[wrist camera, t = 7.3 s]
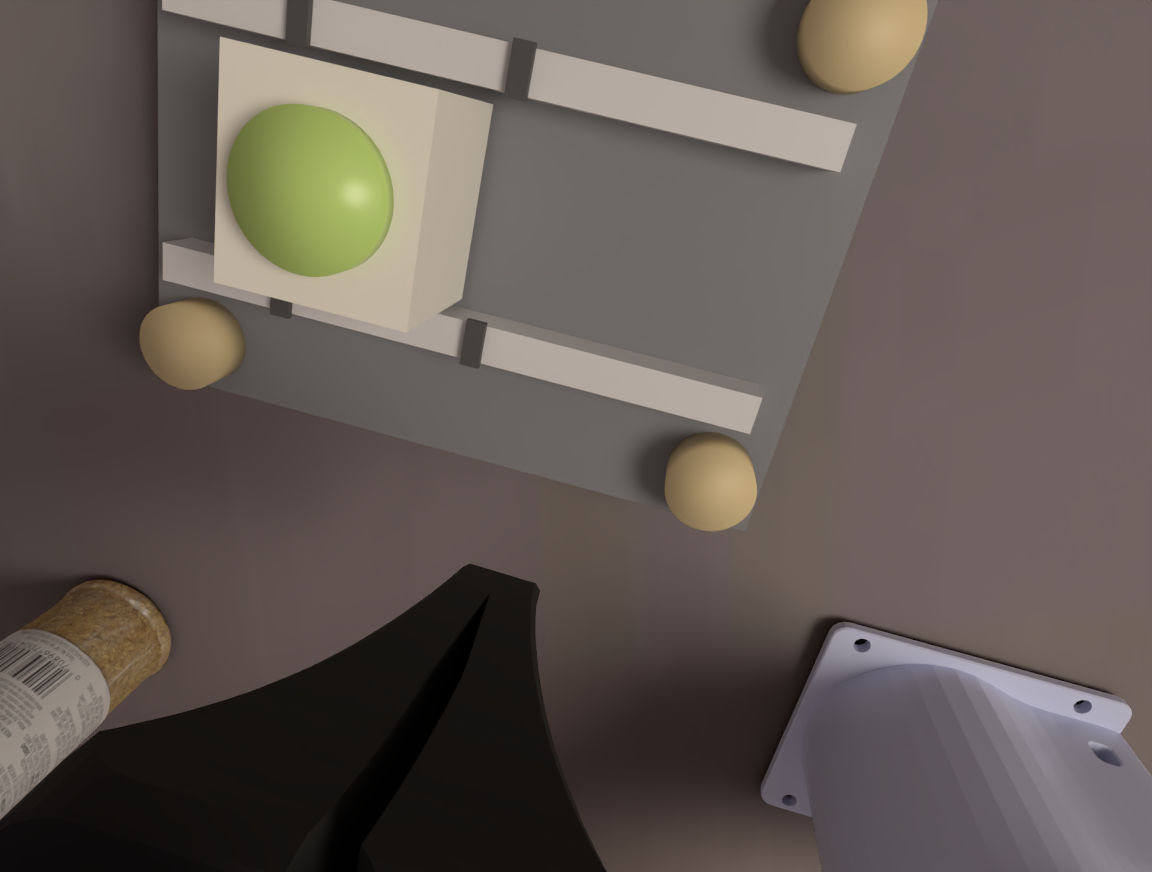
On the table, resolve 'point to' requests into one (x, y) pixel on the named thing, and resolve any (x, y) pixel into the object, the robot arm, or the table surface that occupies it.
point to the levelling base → (567, 229)
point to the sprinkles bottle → (71, 677)
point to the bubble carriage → (344, 186)
